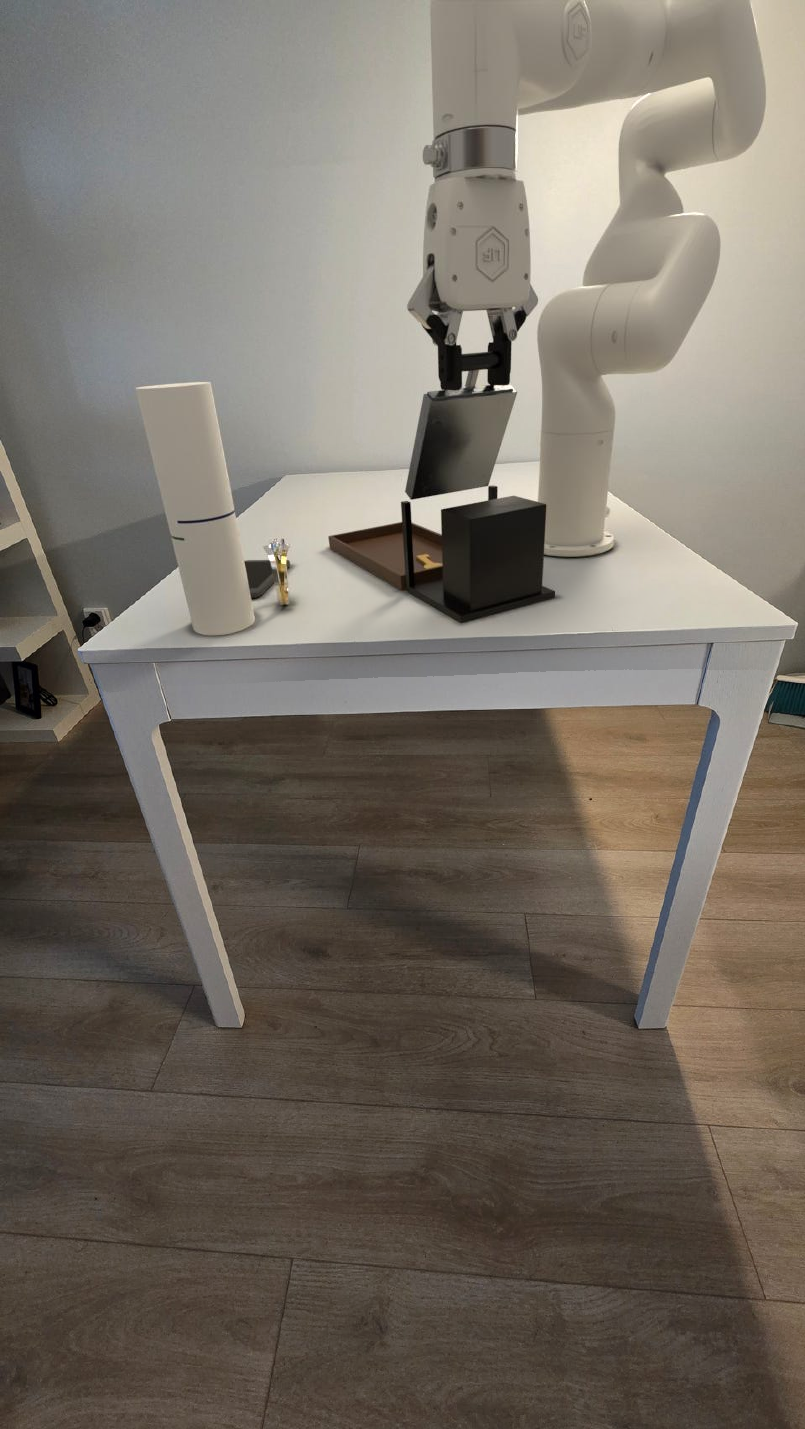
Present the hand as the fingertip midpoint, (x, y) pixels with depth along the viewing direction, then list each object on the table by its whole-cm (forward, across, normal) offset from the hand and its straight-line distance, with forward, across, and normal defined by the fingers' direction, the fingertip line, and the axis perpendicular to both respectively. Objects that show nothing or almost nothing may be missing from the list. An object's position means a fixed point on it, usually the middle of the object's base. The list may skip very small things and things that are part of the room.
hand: (475, 385), depth 68 cm
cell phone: (+23, -22, +23) cm, 39 cm away
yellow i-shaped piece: (+22, +1, +13) cm, 25 cm away
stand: (+23, 0, 0) cm, 23 cm away
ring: (+23, -21, +11) cm, 33 cm away
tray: (+23, 0, +18) cm, 29 cm away
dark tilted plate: (+5, 0, +2) cm, 5 cm away
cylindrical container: (+23, -29, +10) cm, 38 cm away
